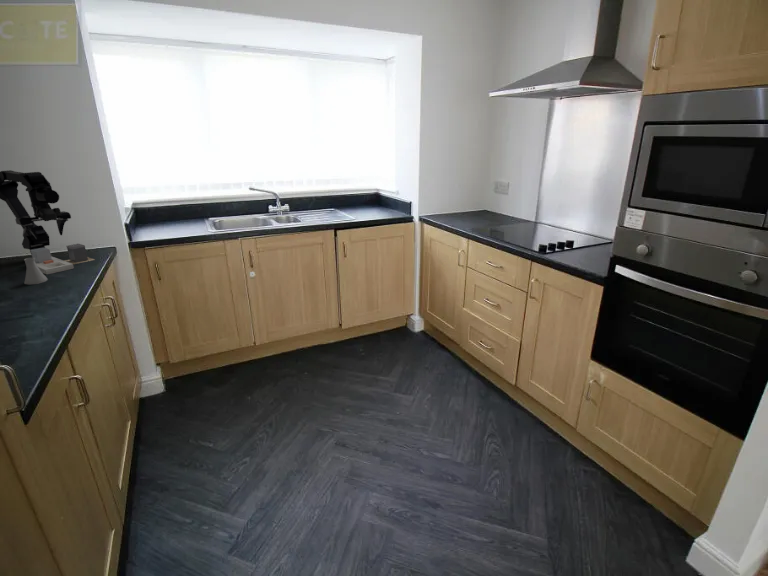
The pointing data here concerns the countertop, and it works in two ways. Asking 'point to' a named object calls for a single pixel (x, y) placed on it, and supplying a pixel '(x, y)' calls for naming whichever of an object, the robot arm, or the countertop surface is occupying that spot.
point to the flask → (33, 273)
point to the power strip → (54, 266)
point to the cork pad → (79, 262)
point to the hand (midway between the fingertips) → (49, 237)
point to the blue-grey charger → (41, 255)
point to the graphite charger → (77, 252)
